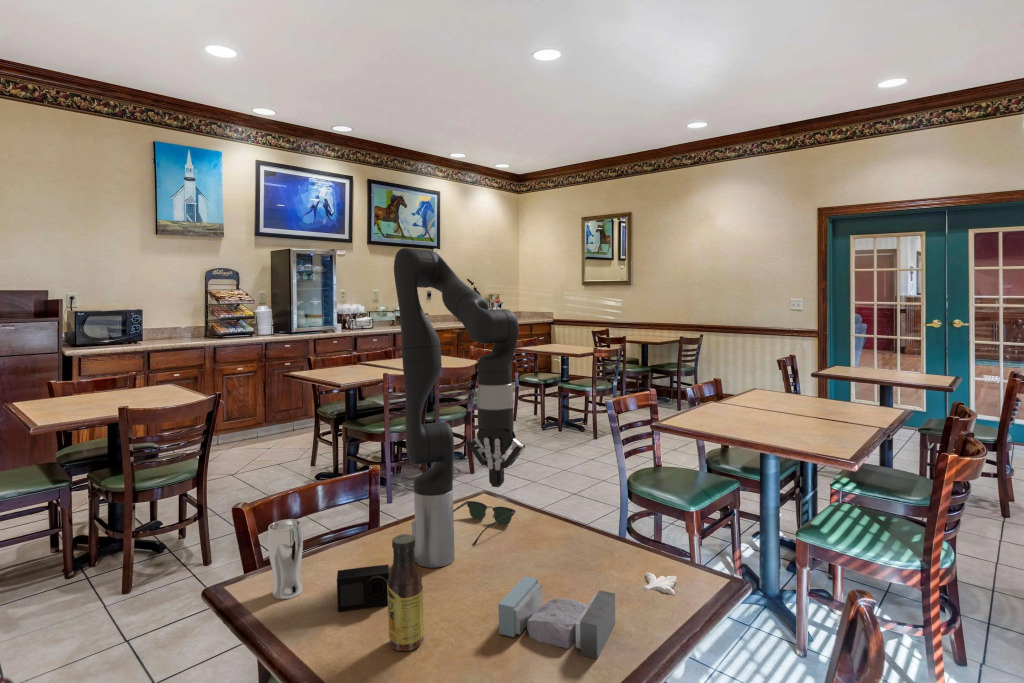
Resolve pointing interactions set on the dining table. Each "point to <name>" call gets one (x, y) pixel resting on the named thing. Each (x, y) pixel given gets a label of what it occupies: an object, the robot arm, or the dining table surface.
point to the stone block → (556, 622)
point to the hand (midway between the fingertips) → (496, 485)
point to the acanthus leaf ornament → (660, 583)
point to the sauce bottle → (405, 596)
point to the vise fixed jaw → (595, 624)
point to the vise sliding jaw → (519, 606)
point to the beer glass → (286, 557)
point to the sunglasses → (479, 512)
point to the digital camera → (362, 588)
